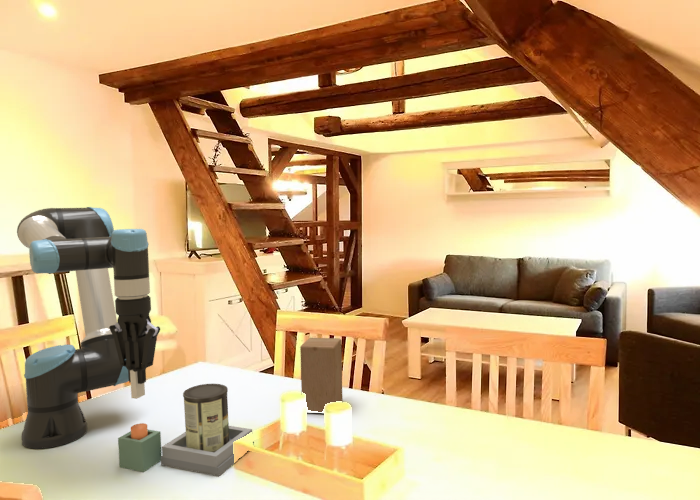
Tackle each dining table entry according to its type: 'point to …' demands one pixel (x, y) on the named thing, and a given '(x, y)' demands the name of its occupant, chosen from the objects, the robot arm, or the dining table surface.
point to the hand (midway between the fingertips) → (138, 396)
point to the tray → (201, 454)
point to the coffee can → (206, 417)
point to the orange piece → (139, 431)
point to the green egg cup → (140, 451)
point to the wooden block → (321, 372)
